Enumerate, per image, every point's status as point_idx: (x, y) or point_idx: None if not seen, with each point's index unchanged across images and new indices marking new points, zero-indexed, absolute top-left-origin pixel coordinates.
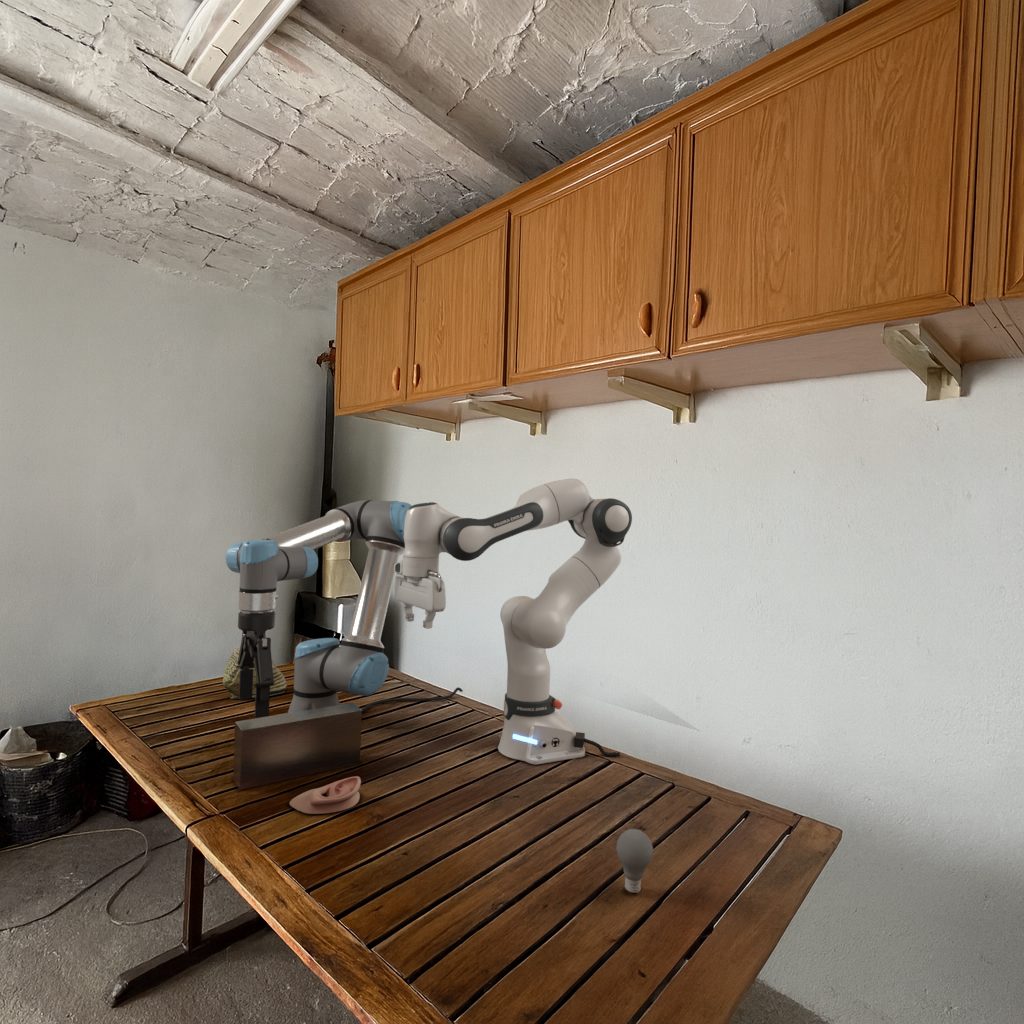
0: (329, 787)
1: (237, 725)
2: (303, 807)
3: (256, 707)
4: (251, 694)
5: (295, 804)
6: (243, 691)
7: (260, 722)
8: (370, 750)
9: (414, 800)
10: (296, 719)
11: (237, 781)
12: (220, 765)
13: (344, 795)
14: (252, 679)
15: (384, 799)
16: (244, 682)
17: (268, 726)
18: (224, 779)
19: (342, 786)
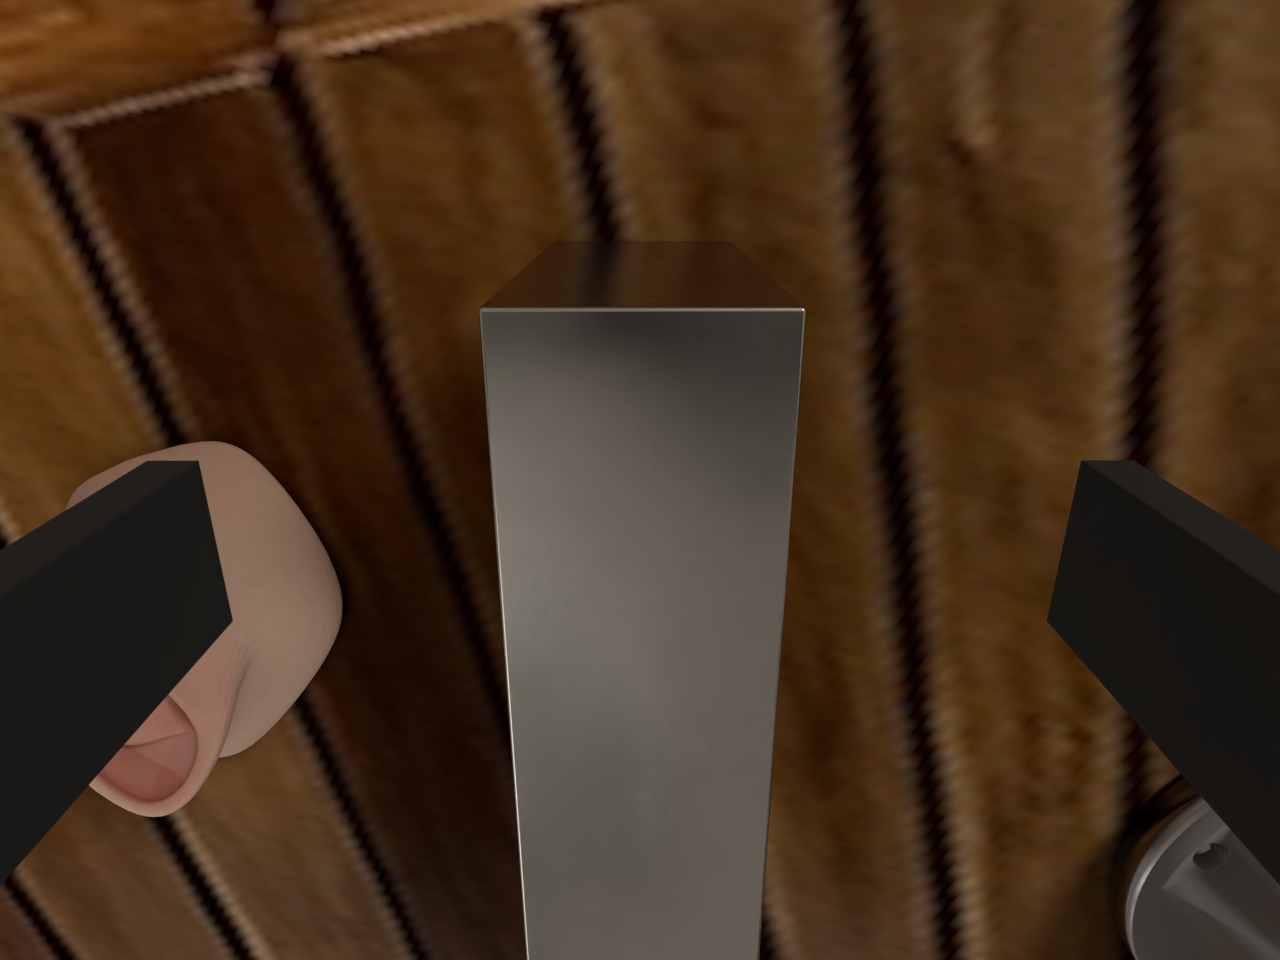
0: None
1: (684, 305)
2: None
3: (50, 531)
4: (1076, 641)
5: None
6: (1137, 563)
7: (636, 536)
8: None
9: (83, 905)
10: (552, 818)
11: (611, 244)
12: (1015, 219)
13: None
14: (1233, 823)
15: (135, 818)
16: (1247, 664)
17: (501, 574)
18: (771, 193)
19: (179, 717)
